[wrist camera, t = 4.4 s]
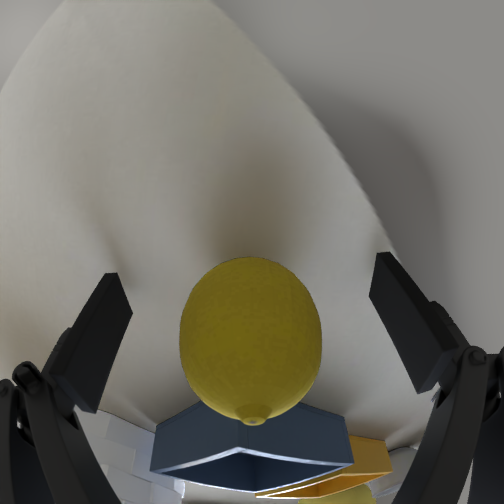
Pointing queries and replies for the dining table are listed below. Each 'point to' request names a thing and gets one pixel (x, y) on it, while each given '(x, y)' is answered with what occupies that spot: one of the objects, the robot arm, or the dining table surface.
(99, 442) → the white brick well
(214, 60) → the dining table surface
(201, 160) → the dining table surface
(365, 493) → the vase
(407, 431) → the dining table surface
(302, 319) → the lemon
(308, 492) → the yellow bin
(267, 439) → the blue bin
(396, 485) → the teacup
